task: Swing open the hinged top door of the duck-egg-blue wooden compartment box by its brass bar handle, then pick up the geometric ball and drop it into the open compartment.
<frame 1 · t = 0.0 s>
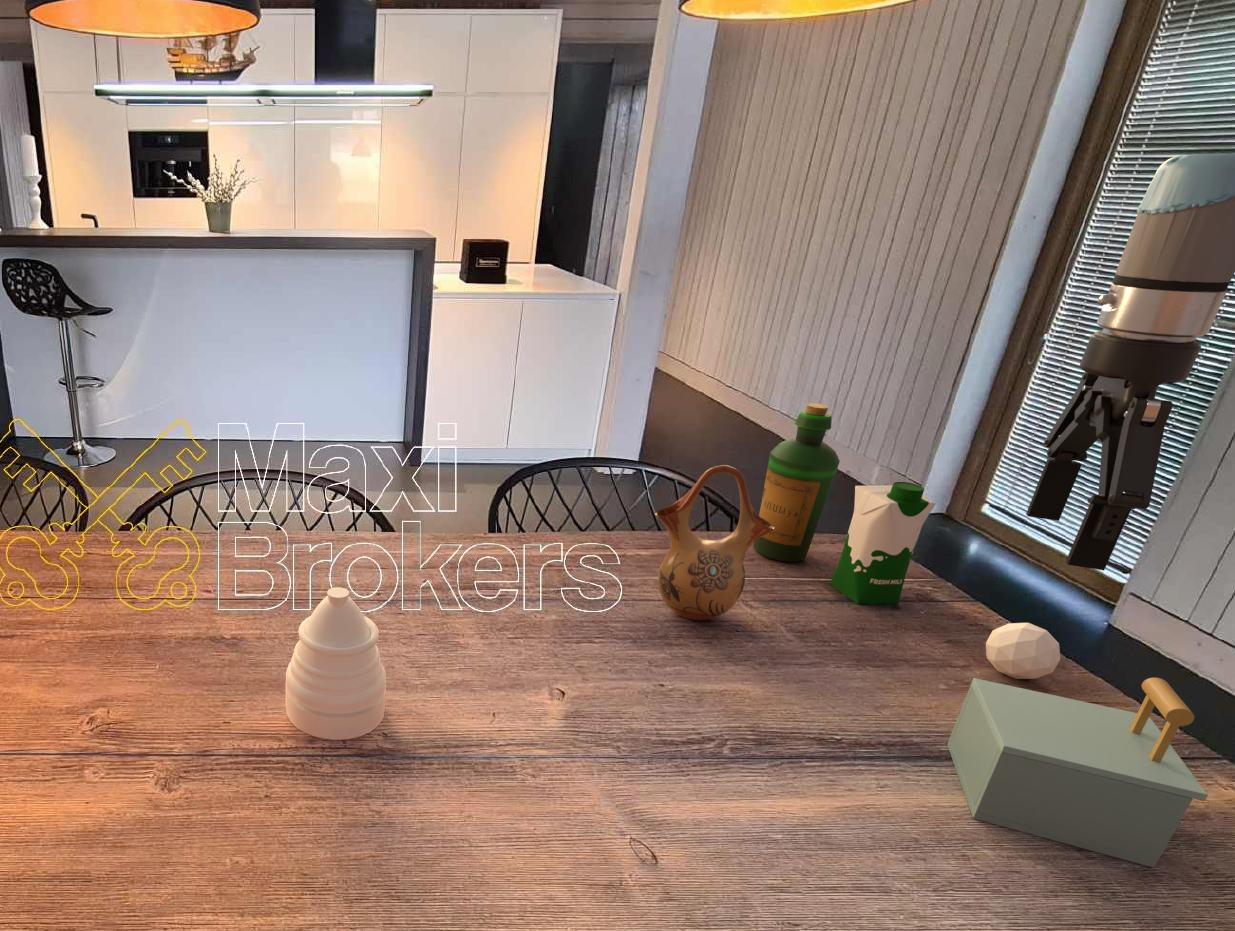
hand: (1061, 540, 84), 29 cm above the table, tool pointing down, fingers open, 13 cm apart
honey pot: (335, 709, 104), on the table
geometric ball: (1012, 674, 113), on the table
compartment: (1040, 800, 90), on the table
ceramic vessel: (692, 615, 127), on the table
bottle: (778, 554, 148), on the table
compartment door: (1089, 708, 85), point 13 cm above the table, hinge at 0.0°
milk carton: (862, 594, 134), on the table
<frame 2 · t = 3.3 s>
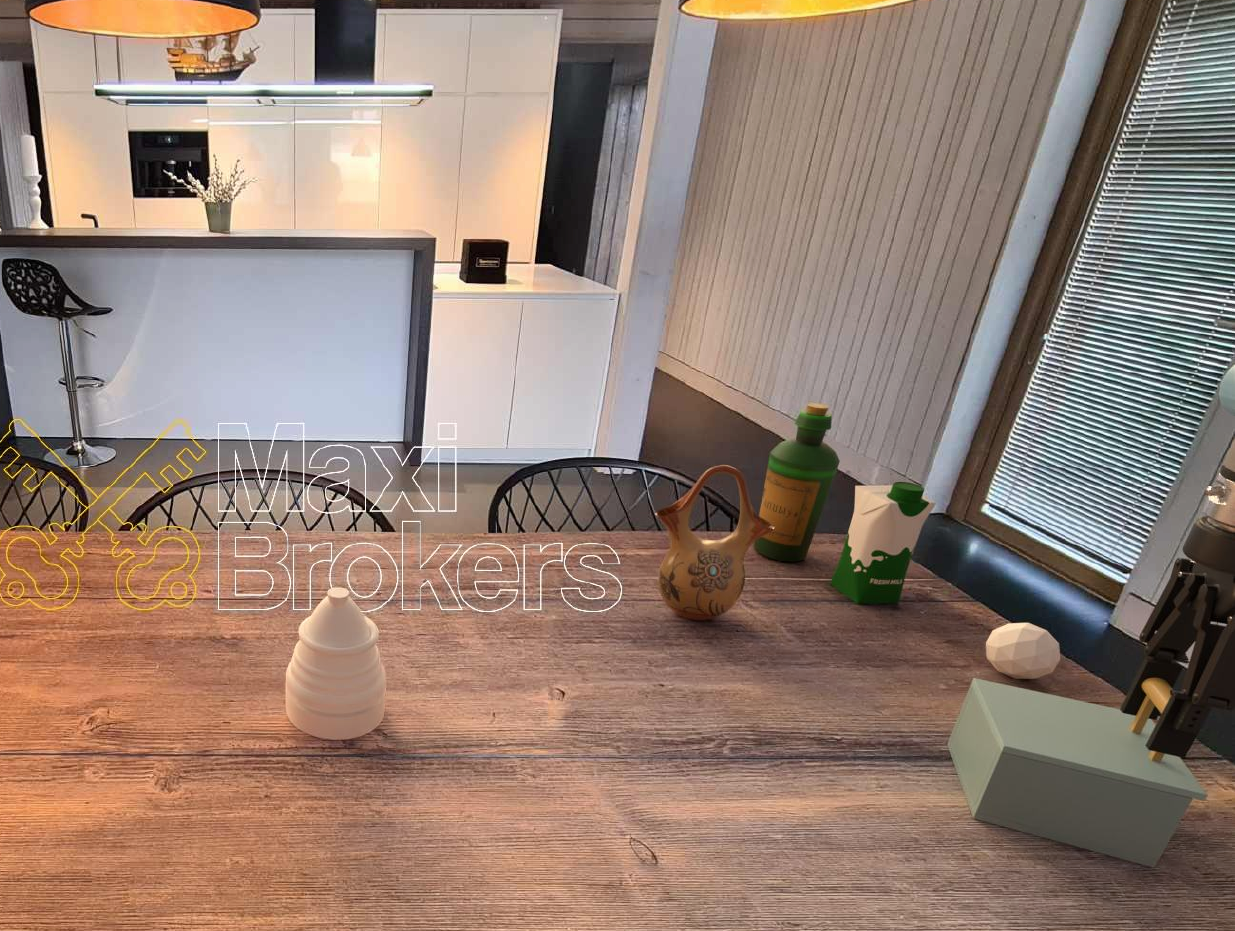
hand: (1151, 732, 83), 11 cm above the table, tool pointing down, fingers closed on compartment door, 6 cm apart
compartment door: (1089, 708, 85), point 13 cm above the table, hinge at 0.0°, touching gripper
everything else where it was.
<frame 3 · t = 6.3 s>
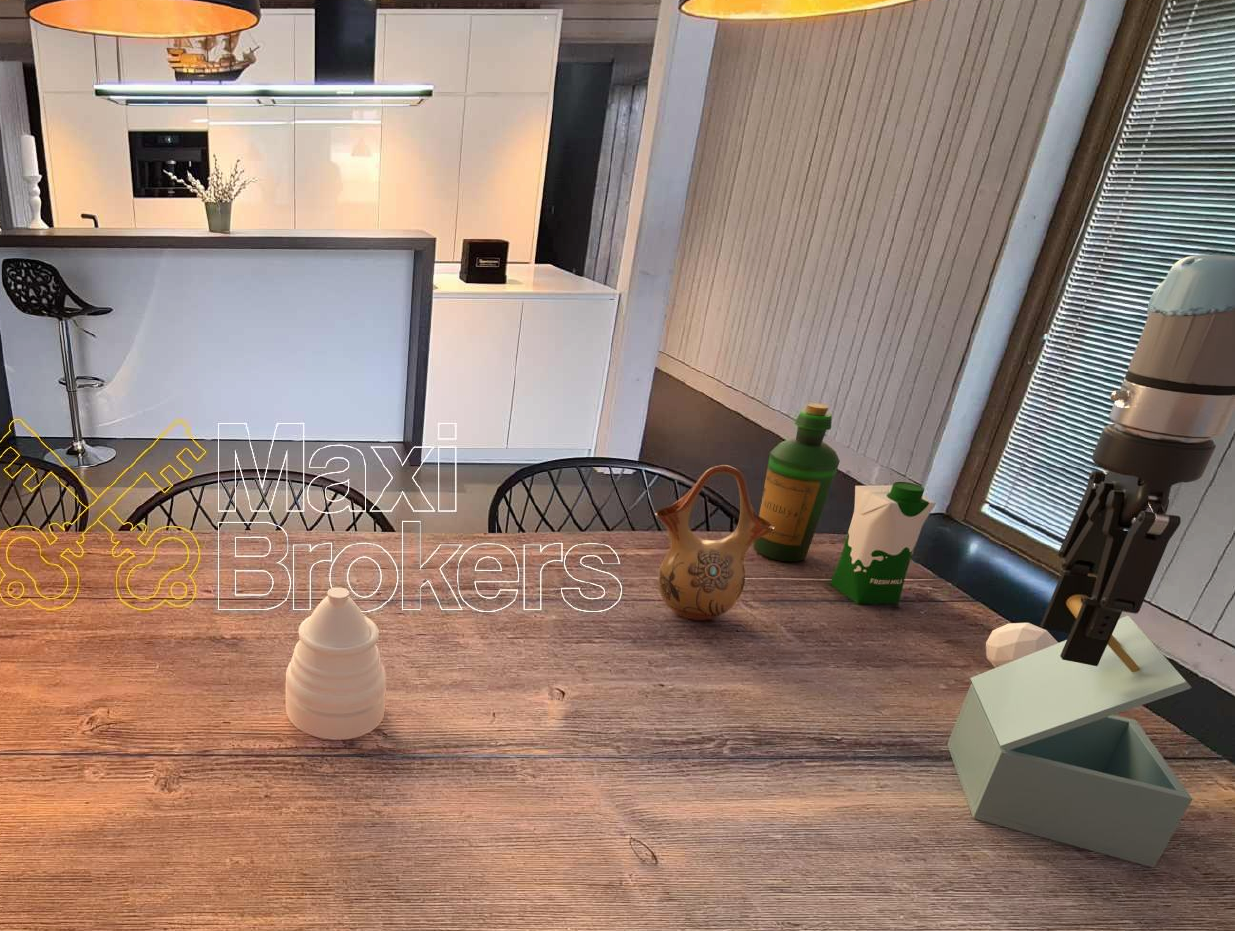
hand: (1067, 644, 83), 19 cm above the table, tool pointing down, fingers closed on compartment door, 6 cm apart
compartment door: (1047, 658, 85), point 17 cm above the table, hinge at 46.8°, touching gripper
everything else where it was.
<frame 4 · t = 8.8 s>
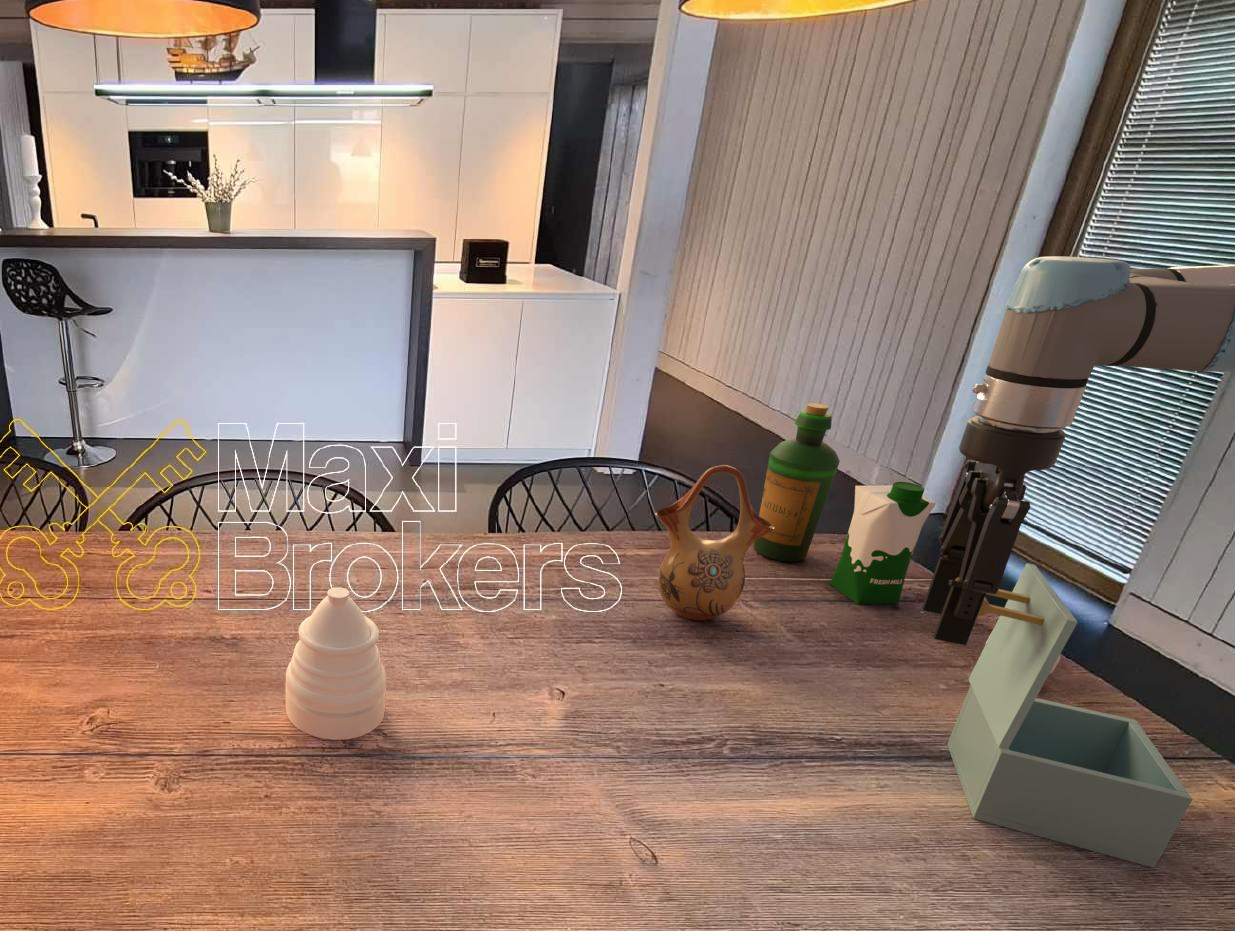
hand: (943, 625, 88), 19 cm above the table, tool pointing down, fingers open, 6 cm apart
compartment door: (980, 644, 87), point 17 cm above the table, hinge at 86.2°
everything else where it was.
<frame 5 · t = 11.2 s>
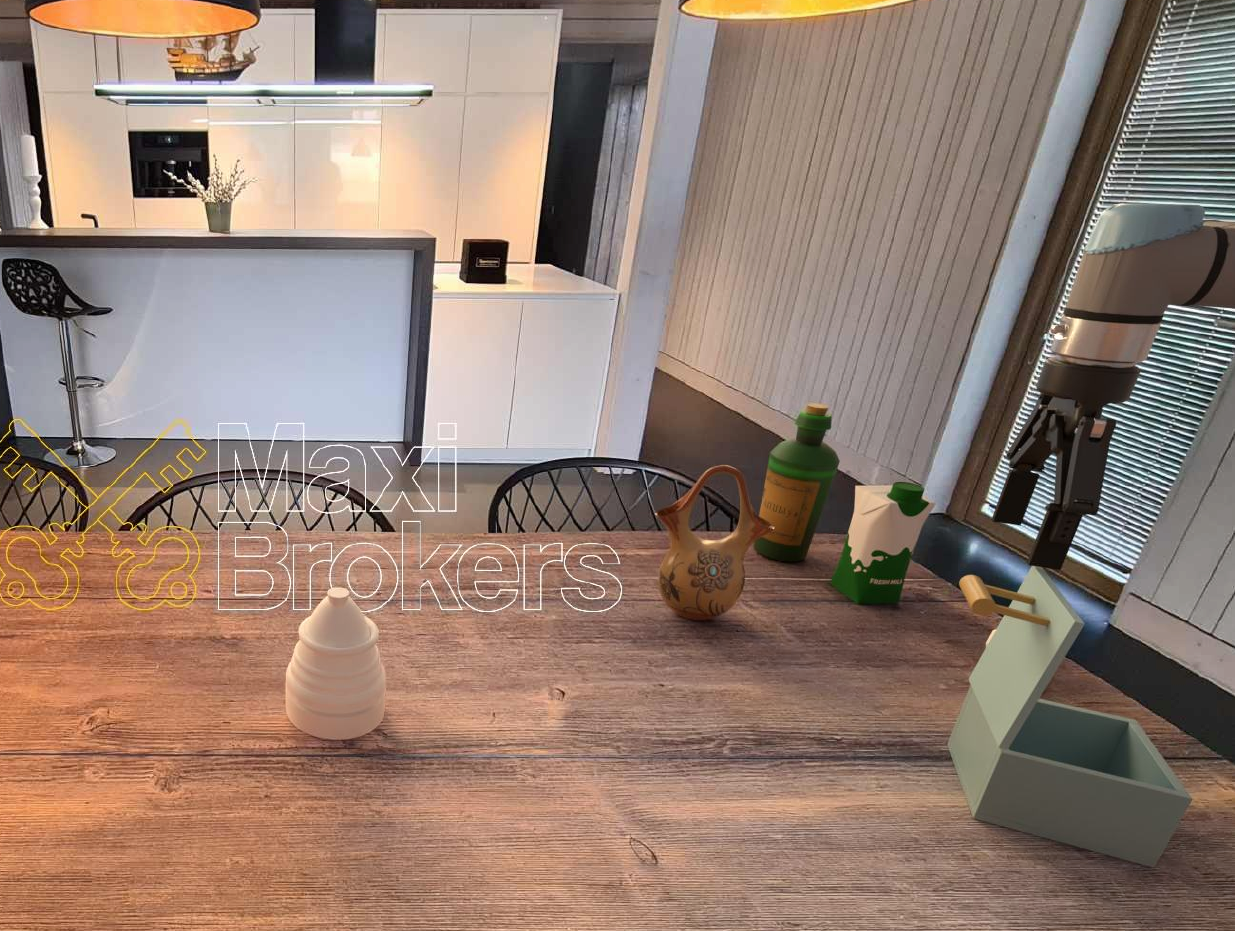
hand: (1023, 543, 93), 25 cm above the table, tool pointing down, fingers open, 13 cm apart
compartment door: (983, 644, 87), point 17 cm above the table, hinge at 84.1°
everything else where it was.
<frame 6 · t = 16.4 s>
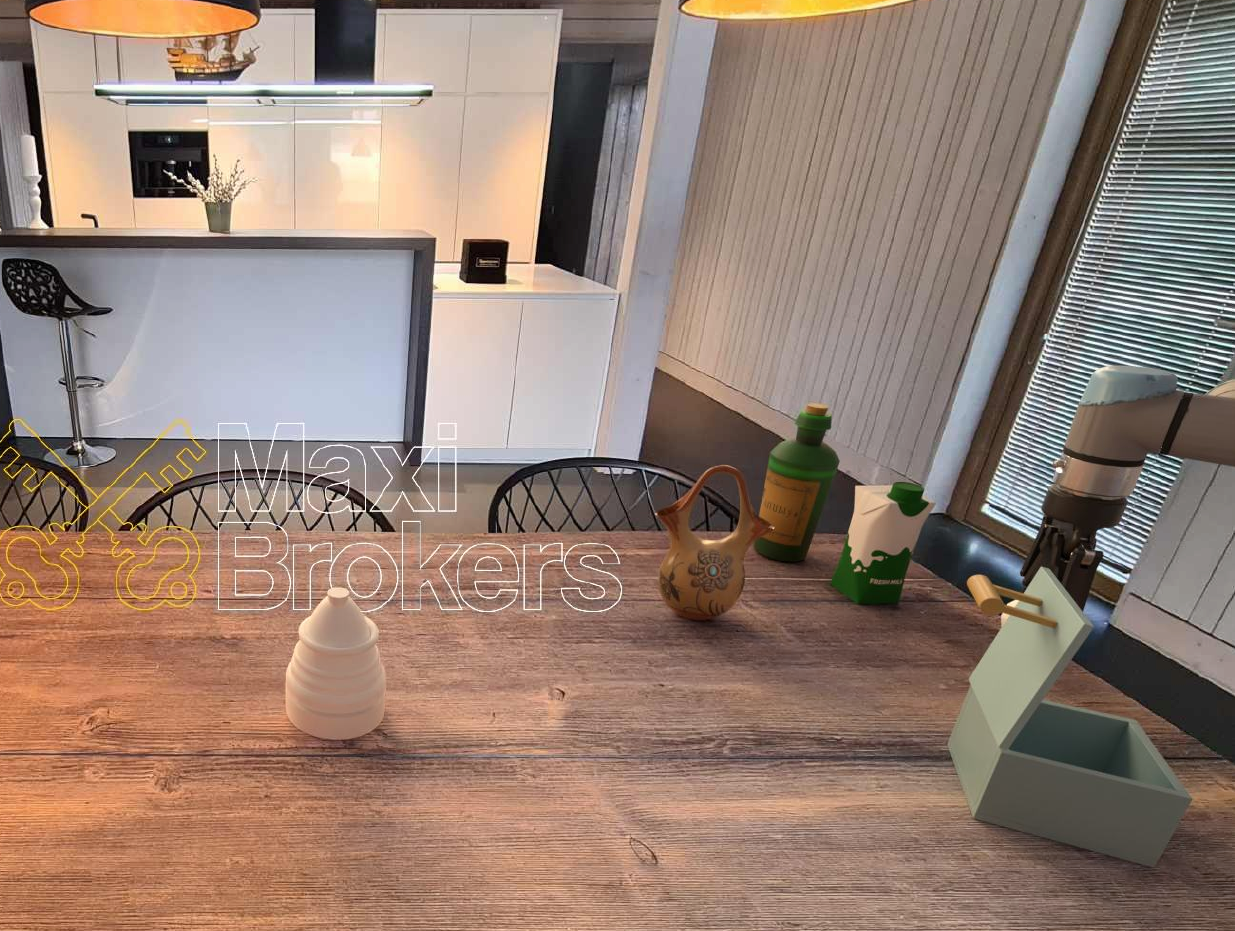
hand: (1028, 645, 111), 5 cm above the table, tool pointing down, fingers closed on geometric ball, 8 cm apart
geometric ball: (1028, 648, 111), point 4 cm above the table, touching gripper
compartment door: (988, 644, 87), point 18 cm above the table, hinge at 81.5°
everything else where it was.
when the fingers open (8 cm above the table, at t = 24.4 s): geometric ball stays where it is, resting on compartment.
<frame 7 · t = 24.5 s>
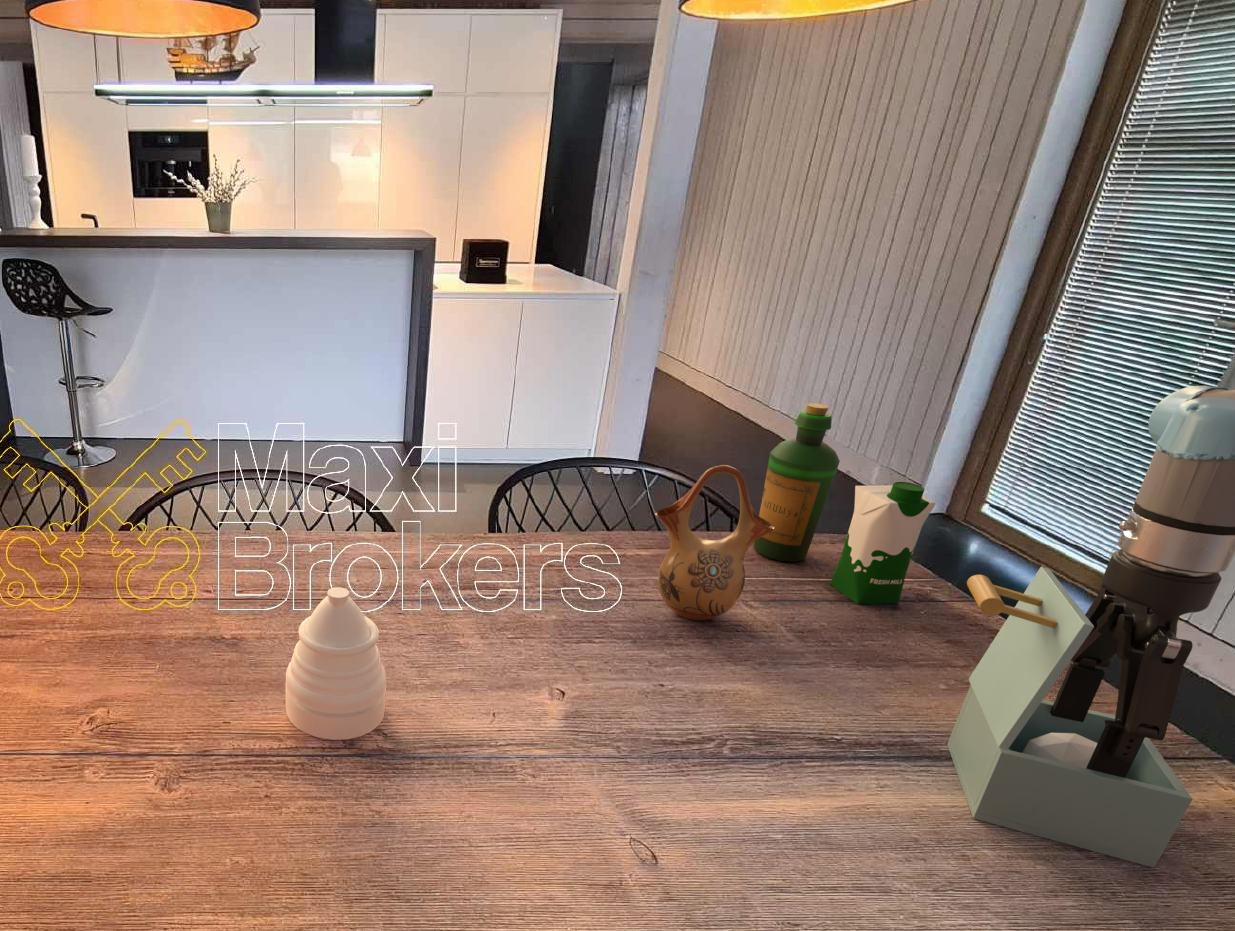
hand: (1083, 746, 86), 8 cm above the table, tool pointing down, fingers open, 11 cm apart
geometric ball: (1054, 797, 89), point 1 cm above the table, touching compartment
everything else where it was.
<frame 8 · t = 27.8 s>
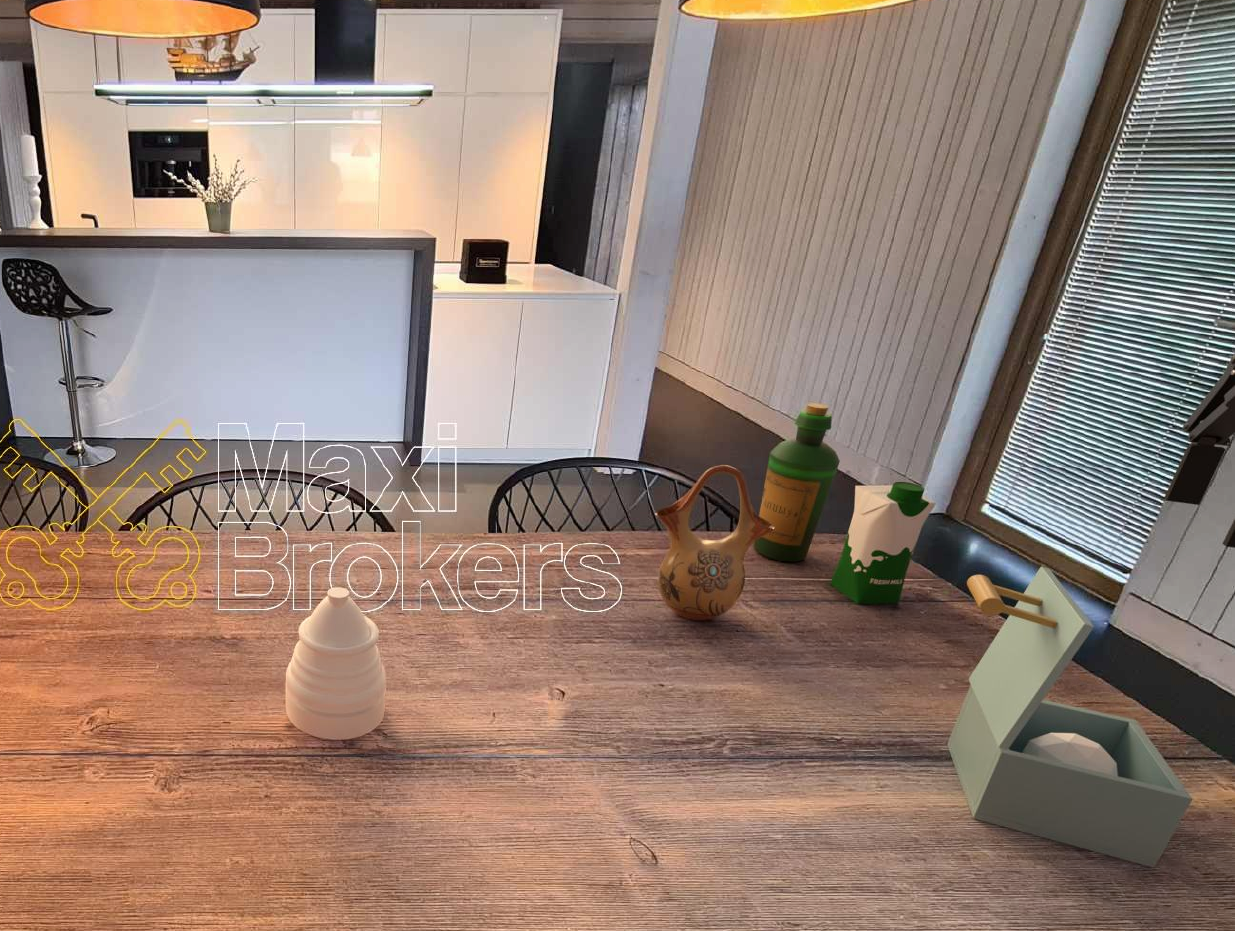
hand: (1209, 523, 84), 31 cm above the table, tool pointing down, fingers open, 13 cm apart
nothing on the table moved.
at the end: compartment door at +82° (first picture: +0°); geometric ball inside the target area in the compartment (1.1 cm from its centre), point 0.7 cm above the compartment's base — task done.
